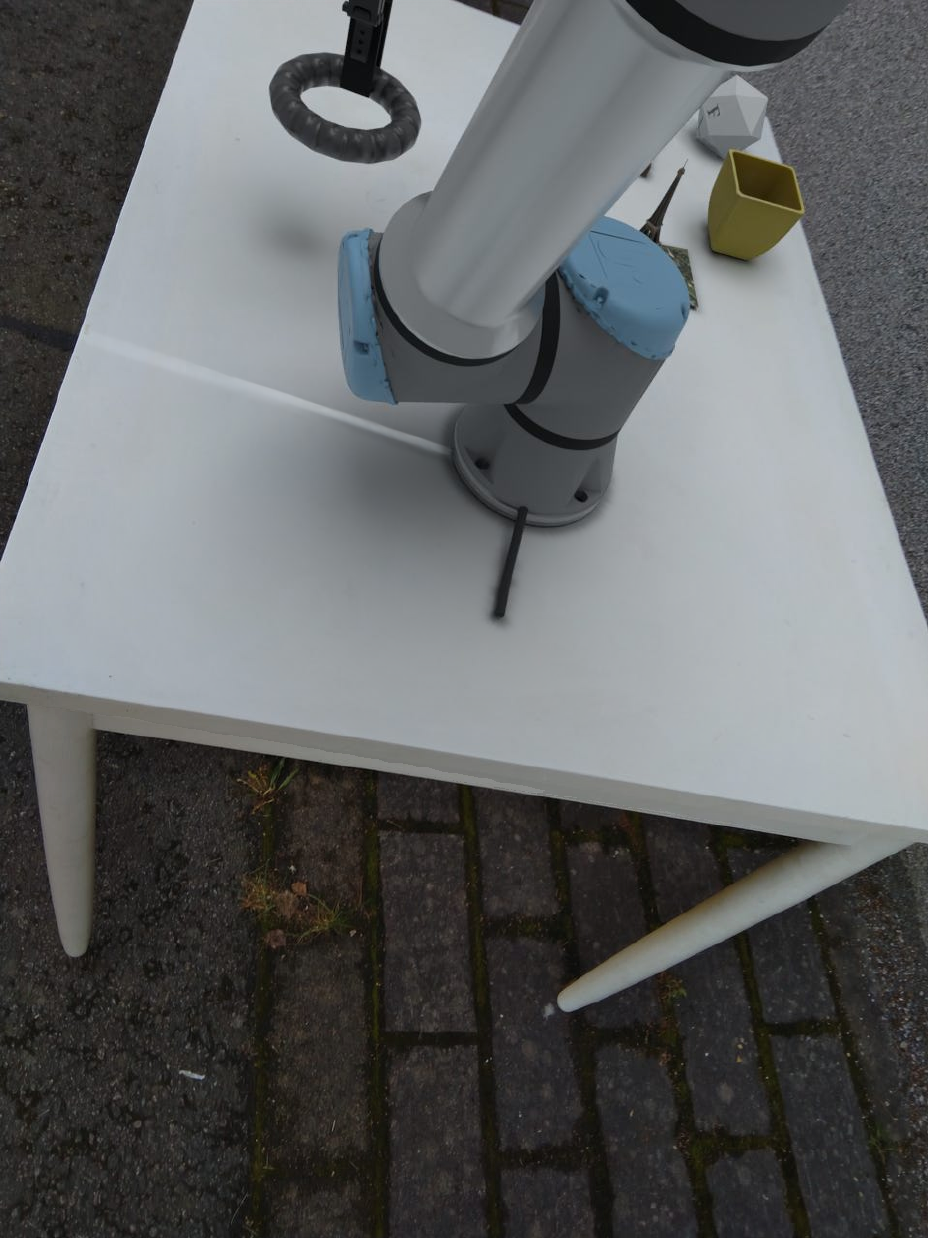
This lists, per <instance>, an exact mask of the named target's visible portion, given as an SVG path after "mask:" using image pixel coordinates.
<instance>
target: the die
mask: <svg viewBox="0 0 928 1238" xmlns="http://www.w3.org/2000/svg"><path fill="white" fill-rule="evenodd" d="M768 102H769V97H768V96H766V95H765V94H763V93H762V92H761V91H760V90H758V89H757V88H755V86H753V85H751V83H749V82H747V81H746V80H745V79H743V78H742V77H741V76H740V75H738V74H736V75H734V76H732V77H731V78H729V79H728V80H726V81H724V82H722V83H721V85H720V86H719V87H718V88H717V89H716V90H715V91H714V92H713V94H712V95H711V96H710V97H709V98H708V99H707V100H706V101H705V103H704V104H703V105H702V106H701V107H700V108H699V109H698V117H697V125H696V133H695V139H696V140H697V141H699V142H700V143H701V144H703V145H704V146H706V147H707V148H708V149H709V150H711V151H712V152H713V153H714V154H716V155H717V156H718V157H720V158H721V159H722V160H723V161H724V160H725V158H726V156H727V154H728V151H729V149H734V150H739V151H742V152H743V151H744V150H746V149H747V148H749V147H750V146H752V145H754V144H755V143H756V142H758V141H761V139H762V136H763V135H762V134H763V128H764V123H765V117H766V113H767V106H768Z"/></svg>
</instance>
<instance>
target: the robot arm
mask: <svg viewBox="0 0 928 1238" xmlns="http://www.w3.org/2000/svg"><path fill="white" fill-rule="evenodd" d="M852 1H853V0H533V1H532V3H531V5H530V7H529V9H528V10H527V13H526V15H525V17H524V18H523V20H522V22H521V24H520V26H519V28H518V30H517V31H516V33H515V35H514V37H513V39H512V41H511V43H510V45H509V47H508V48H507V50H506V52H505V54H504V56H503V58H502V60H501V62H500V63H499V66H498V67H497V69H496V71H495V73H494V74H493V77H492V79H491V81H490V82H489V84H488V86H487V88H486V90H485V92H484V93H483V96H482V97H481V98H480V101H479V103H478V105H477V106H476V109H475V111H474V112H473V115H472V116H471V117H470V120H469V122H468V123H467V126H466V127H465V129H464V131H463V133H462V135H461V137H460V139H459V141H458V143H457V145H456V147H455V148H454V150H453V152H452V154H451V155H450V158H449V159H448V161H447V164H446V165H445V167H444V169H443V170H442V173H441V175H440V177H439V179H438V180H437V182H436V184H435V186H434V188H433V190H429V191H426V192H424V193H420V194H418V195H416V196H415V197H413V198H411V199H409V200H408V201H407V202H405V203H403V204H402V205H401V206H400V207H399V208H398V209H397V211H396V212H394V214H393V216H392V217H391V219H390V220H389V221H388V223H387V225H386V227H385V229H384V231H383V232H380V231H379V232H377V231H376V232H375V231H374V229H373V228H370V227H365V228H363V229H362V230H350V231H347V232H346V233H345V234H344V235H343V237H342V239H340V243H339V249H338V255H337V256H338V257H337V258H338V259H337V317H338V329H339V330H338V331H339V341H340V342H339V343H340V353H341V361H342V366H343V373H344V377H345V380H346V383H347V386H348V388H349V390H350V391H351V393H352V394H353V395H354V396H355V397H357V398H358V399H360V400H362V401H368V402H369V401H370V402H377V403H386V404H390V405H392V406H397V405H399V403H427V404H428V403H432V404H434V403H435V404H465V405H464V406H463V408H462V410H461V411H460V413H459V414H458V415H459V416H458V418H457V420H456V423H455V427H454V431H453V432H454V433H453V442H454V443H453V444H454V447H451V448H450V449H451V456H452V460H453V463H454V466H455V469H456V471H457V473H458V475H459V477H460V479H461V480H462V481H463V483H464V485H465V486H466V487H467V488H468V489H469V491H470V492H471V493H472V494H473V495H474V496H475V497H476V498H477V499H478V500H480V502H482V503H483V504H484V505H486V506H487V507H488V508H490V509H491V510H493V511H495V512H496V513H497V514H500V515H502V516H504V517H505V518H508V519H510V520H513V521H514V522H515V523H514V527H513V530H512V535H511V540H510V543H509V546H508V550H507V555H506V559H505V562H504V566H503V570H502V575H501V580H500V583H499V589H498V595H497V600H496V605H495V610H494V616H496V617H497V618H504V617H505V616H506V610H507V606H508V605H507V604H508V600H509V594H510V588H511V584H512V579H513V574H514V571H515V566H516V563H517V558H518V554H519V550H520V547H521V542H522V538H523V534H524V530H525V525H526V524H527V525H530V526H537V527H558V526H565V525H568V524H572V523H574V522H577V521H579V520H581V519H583V518H584V517H586V516H587V515H588V514H590V513H591V512H592V511H593V510H594V509H595V507H597V505H598V504H599V502H600V501H601V499H602V498H603V497H604V495H605V493H606V492H607V489H608V488H609V485H610V482H611V478H612V475H613V469H614V462H615V458H616V457H615V455H616V450H617V444H618V437H619V433H620V432H621V430H622V428H623V427H624V425H625V424H626V422H627V421H628V420H629V417H630V416H631V414H632V413H633V411H634V410H635V408H636V407H637V405H638V403H639V402H640V400H641V399H642V398H643V396H644V394H645V393H646V391H647V390H648V388H649V387H650V385H651V383H652V382H653V380H655V379H654V378H655V377H656V376H657V374H658V372H659V371H660V370H661V368H662V367H663V365H664V363H665V362H666V360H667V359H669V357H671V356H672V353H673V352H674V350H675V348H676V342H677V341H678V338H680V337H679V336H680V335H681V333H682V331H683V329H684V328H685V326H686V323H687V321H688V320H689V315H690V312H691V305H690V296H689V291H688V288H687V285H686V282H685V280H684V278H683V276H682V274H681V272H680V271H679V269H678V267H677V266H676V264H675V263H674V262H673V260H672V259H671V258H670V257H669V256H668V254H667V253H666V252H665V251H664V250H663V249H661V248H660V247H659V246H658V245H657V244H656V243H654V242H653V241H652V240H651V239H650V238H649V237H647V236H646V235H645V234H643V233H642V232H640V231H639V229H637V228H635V227H633V226H632V225H630V224H628V223H625V222H623V221H621V220H618V219H616V218H613V217H611V216H607V215H606V214H607V213H608V212H609V211H610V210H611V209H612V207H613V206H614V205H615V204H616V203H617V202H618V201H619V200H620V199H621V197H622V196H623V195H624V194H625V193H626V192H627V191H628V189H629V188H631V186H632V185H633V184H634V183H635V182H636V180H637V179H638V178H639V177H640V176H641V173H642V172H643V171H644V170H645V169H646V168H647V167H648V166H649V164H650V163H651V164H652V163H653V161H654V160H655V159H656V158H657V157H658V156H659V155H660V154H661V152H662V151H663V150H665V148H666V147H667V145H668V144H669V143H671V141H672V140H673V139H674V138H675V137H676V135H677V134H678V133H679V132H680V131H681V130H682V129H683V128H684V126H686V124H687V123H688V122H689V121H690V120H691V118H693V116H694V115H696V113H697V112H698V111H699V108H700V107H701V106H702V105H703V104H704V103H705V101H706V100H707V99H708V98H709V97H710V96H711V95H712V94H713V92H714V91H715V90H716V89H717V88H718V87H719V86H720V85H721V84H723V83H724V82H725V80H726V79H727V78H728V77H729V76H730V75H731V74H732V72H741V73H745V72H746V73H750V72H760V71H765V70H768V69H772V68H776V67H777V66H780V65H783V64H785V63H788V62H790V61H791V60H792V59H793V58H795V57H797V56H799V54H801V53H802V52H804V50H805V49H806V48H808V47H809V45H811V43H812V42H813V41H814V40H815V39H816V38H817V37H818V36H820V34H822V32H823V31H825V29H826V28H827V27H828V26H829V25H830V24H831V23H832V22H833V21H834V20H835V19H836V18H837V17H838V16H839V15H840V14H841V12H843V10H845V8H846V7H847V6H848V5H849V4H850V3H851V2H852ZM393 2H394V0H344V2H343V4H342V6H341V11H342V12H344V13H346V16H347V17H348V18H349V23H348V29H347V37H346V42H345V49H344V54H343V55H344V62H343V68H342V75H341V81H340V88H339V89H343V90H344V91H348V92H351V93H354V94H355V95H359V96H361V97H364V98H366V99H370V98H369V96H370V94H371V89H372V83H373V78H374V72H375V67H376V66H378V67H380V68H381V67H382V66H381V65H382V61H383V56H384V51H385V45H386V41H387V40H386V39H387V34H388V30H389V24H390V18H391V13H392V8H393ZM605 215H606V216H605Z"/></svg>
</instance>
